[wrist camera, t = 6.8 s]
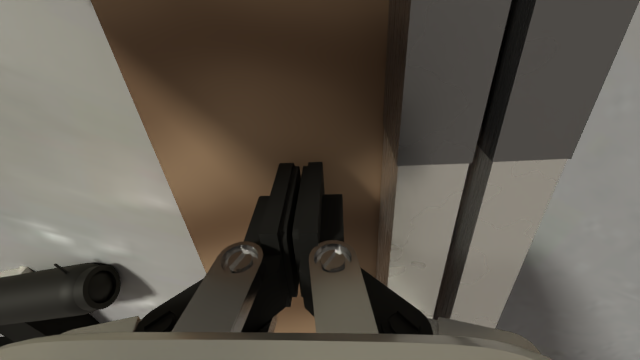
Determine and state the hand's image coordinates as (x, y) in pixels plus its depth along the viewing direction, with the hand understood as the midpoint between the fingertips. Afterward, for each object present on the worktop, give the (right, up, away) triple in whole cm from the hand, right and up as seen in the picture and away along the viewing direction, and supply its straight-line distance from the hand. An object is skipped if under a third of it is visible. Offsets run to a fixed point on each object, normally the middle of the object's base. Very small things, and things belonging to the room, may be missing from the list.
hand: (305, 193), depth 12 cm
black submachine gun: (-21, -11, +12) cm, 26 cm away
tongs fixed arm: (+7, -1, +1) cm, 7 cm away
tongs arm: (+4, -1, +2) cm, 5 cm away
